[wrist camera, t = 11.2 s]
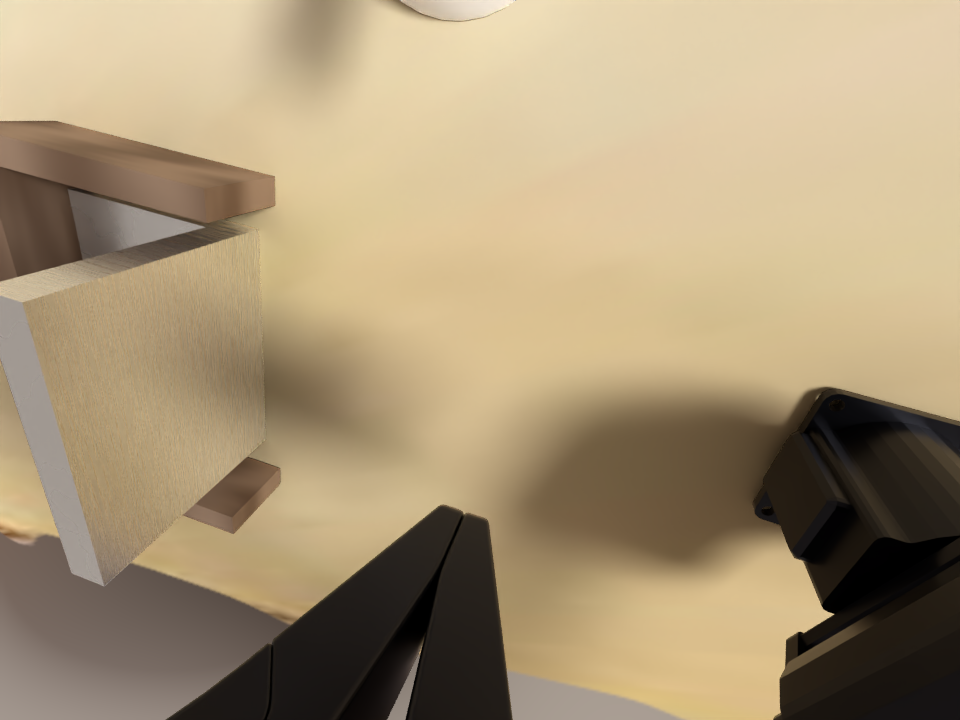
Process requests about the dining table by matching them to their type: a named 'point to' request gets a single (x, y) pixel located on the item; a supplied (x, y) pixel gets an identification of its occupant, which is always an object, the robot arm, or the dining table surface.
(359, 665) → the robot arm
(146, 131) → the dining table surface
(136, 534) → the bracket
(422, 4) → the hook
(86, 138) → the bay
